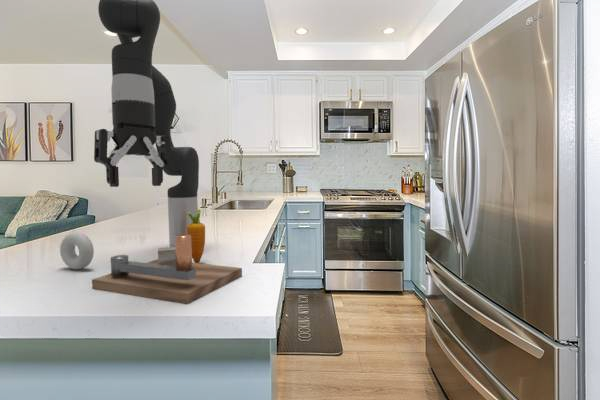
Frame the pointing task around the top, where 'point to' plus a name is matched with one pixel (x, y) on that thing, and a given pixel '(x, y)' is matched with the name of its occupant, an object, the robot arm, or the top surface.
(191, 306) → the top surface
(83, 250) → the donut
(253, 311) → the top surface
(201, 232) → the carrot
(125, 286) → the press board
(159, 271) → the lever
